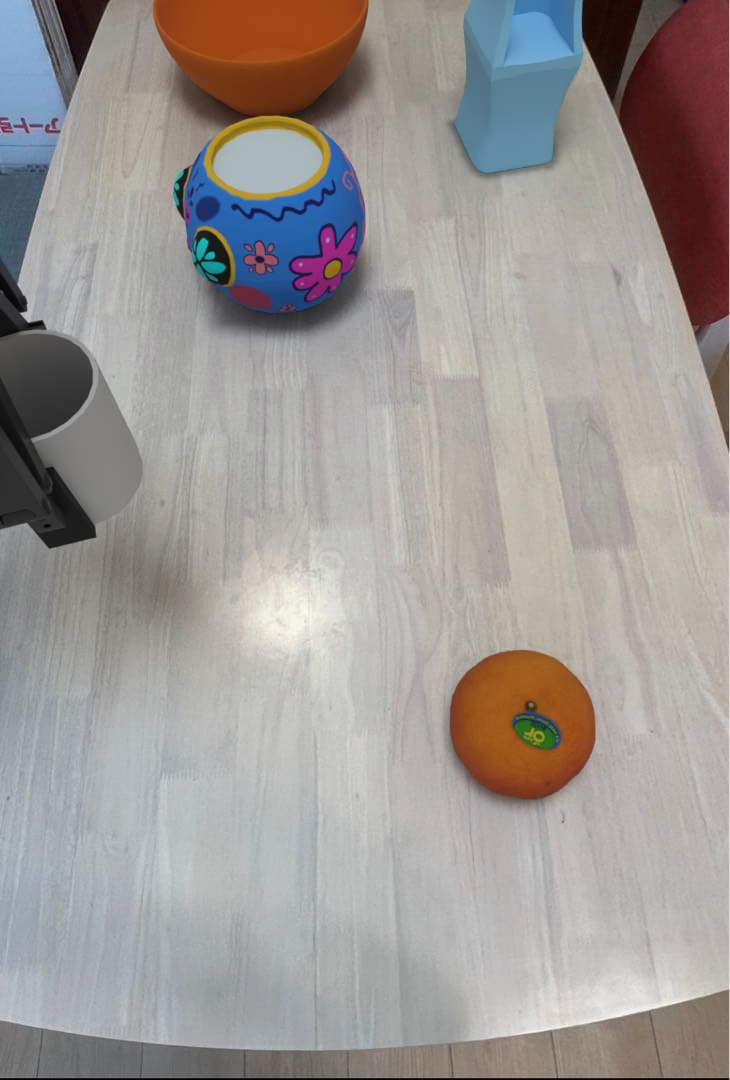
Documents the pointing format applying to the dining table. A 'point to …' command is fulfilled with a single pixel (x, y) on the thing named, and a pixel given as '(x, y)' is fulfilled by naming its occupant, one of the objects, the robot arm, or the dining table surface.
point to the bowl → (262, 48)
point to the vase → (516, 79)
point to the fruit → (522, 724)
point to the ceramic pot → (272, 213)
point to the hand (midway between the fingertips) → (65, 480)
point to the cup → (72, 418)
